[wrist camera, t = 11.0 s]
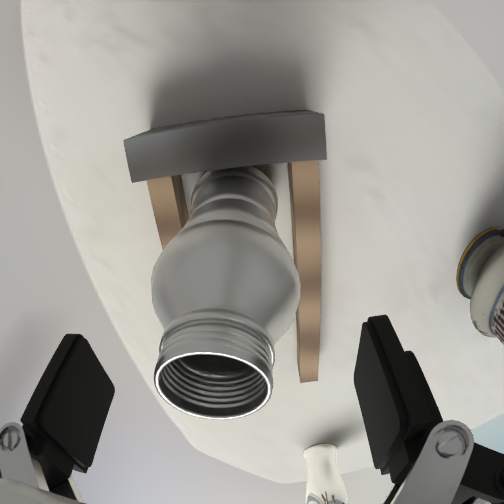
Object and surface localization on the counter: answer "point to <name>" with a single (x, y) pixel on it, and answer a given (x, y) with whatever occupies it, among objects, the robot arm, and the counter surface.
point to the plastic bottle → (224, 298)
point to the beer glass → (323, 476)
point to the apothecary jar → (484, 282)
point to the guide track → (239, 155)
